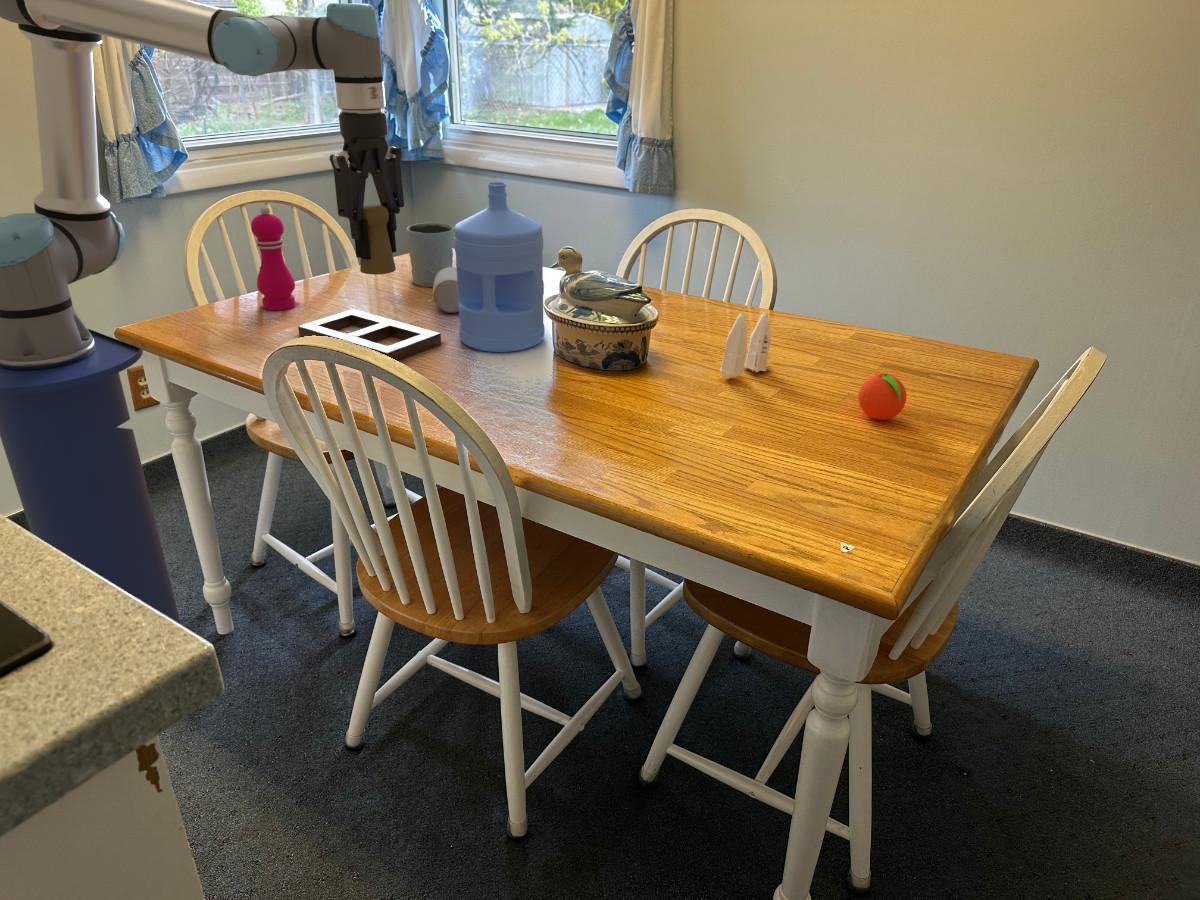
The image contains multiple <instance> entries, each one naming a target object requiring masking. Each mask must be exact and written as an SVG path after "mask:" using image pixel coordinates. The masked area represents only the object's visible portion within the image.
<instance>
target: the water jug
mask: <svg viewBox="0 0 1200 900" xmlns="http://www.w3.org/2000/svg"><path fill="white" fill-rule="evenodd" d="M487 187H488V193H487V197H488V206H487V207H486V208H485V209H483V210H481V211H478V212H477V213H475V214H472V215H471V216H469V217H467V218H465V219H462V220H461V221H459V222H457V223H456V224H455V226H454V227H453V228H454V234H453V249H454V252H455V266H456V268H457V293H458V304H459V312H458V320H459V321H458V322H459V326H458V334H459V335H458V336H459V339H460V340H461V342H462V343H463V344H464V345H466V346H467V347H469V348H472V349H475V350H478V351H483V352H490V353H491V352H492V353H510V352H519V351H523V350H527V349H530V348H532V347H535V346H537V345H538V344H540V343H541V342H542V340H543V339H544V337H545V331H546V329H545V328H546V327H545V323H544V294H545V284H544V276H543V275H544V274H543V272H544V270H543V268H544V267H543V265H544V263H543V251H544V235H543V226H542V225H541V223H539V222H538V221H537V220H535V219H532V218H530V217H528V216H526V215H523V214H522V213H520V212H517V211H515V210H514V209H512V208H509V206H508V204H507V196H508V195H507V191H506V188H507V183H506V182H502V181H491V182H488V183H487Z"/></svg>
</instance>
